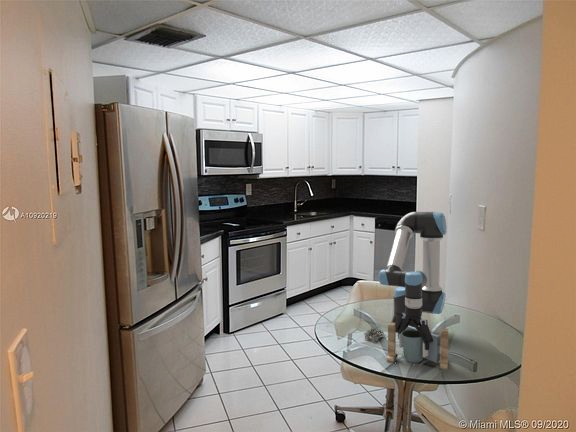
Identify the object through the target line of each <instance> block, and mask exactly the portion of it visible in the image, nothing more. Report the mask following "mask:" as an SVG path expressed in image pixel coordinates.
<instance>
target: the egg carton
mask: <svg viewBox="0 0 576 432" xmlns="http://www.w3.org/2000/svg"><path fill="white" fill-rule="evenodd" d="M374 330H375V331H376V332H375V331H374ZM377 332H378V333H379V332H380V333H379V334H377ZM383 334H384V330H383V331H382V330H380V329H378V328H373V327H371V328H370V329H368V330H367V331H366V332H365V331H364V332H363V336H364V340H366V341H372V342H373V343H374V342H378V341H379V340H380V339H381V337H380V336H383Z"/></svg>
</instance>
